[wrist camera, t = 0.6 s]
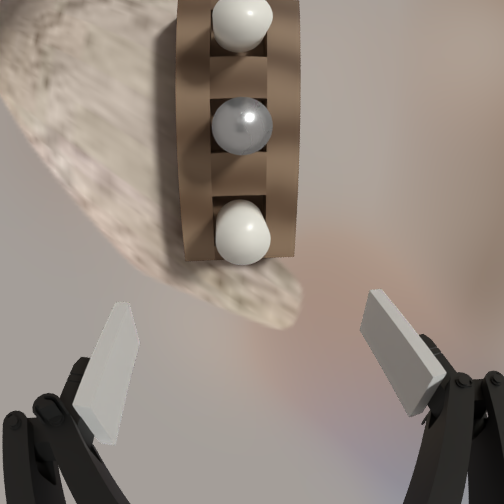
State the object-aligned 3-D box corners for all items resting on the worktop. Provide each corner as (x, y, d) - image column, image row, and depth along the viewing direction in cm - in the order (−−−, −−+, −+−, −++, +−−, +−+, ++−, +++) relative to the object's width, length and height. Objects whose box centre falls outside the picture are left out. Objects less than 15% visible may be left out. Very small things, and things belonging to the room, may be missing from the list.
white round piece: (214, 11, 19) (213, -8, 15) (264, 11, 20) (272, -7, 15) (213, 53, 21) (211, 39, 17) (264, 53, 21) (273, 40, 17)
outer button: (215, 200, 27) (214, 215, 23) (263, 198, 27) (271, 213, 23) (217, 244, 29) (216, 266, 25) (262, 242, 29) (269, 263, 25)
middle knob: (213, 101, 23) (211, 97, 19) (264, 101, 23) (272, 97, 19) (213, 150, 25) (212, 156, 21) (264, 149, 25) (272, 155, 21)
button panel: (183, 12, 22) (178, -1, 18) (289, 13, 23) (299, 0, 19) (188, 245, 33) (185, 261, 29) (286, 241, 34) (294, 256, 30)
